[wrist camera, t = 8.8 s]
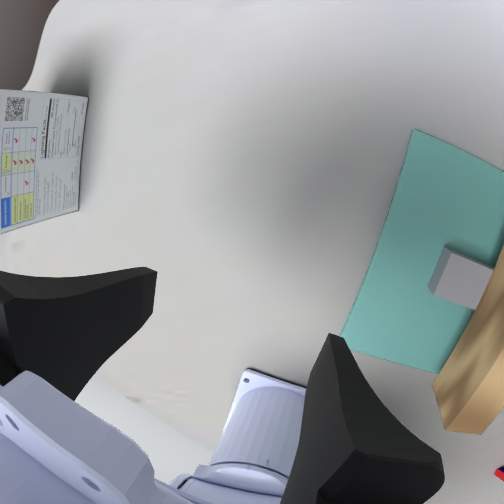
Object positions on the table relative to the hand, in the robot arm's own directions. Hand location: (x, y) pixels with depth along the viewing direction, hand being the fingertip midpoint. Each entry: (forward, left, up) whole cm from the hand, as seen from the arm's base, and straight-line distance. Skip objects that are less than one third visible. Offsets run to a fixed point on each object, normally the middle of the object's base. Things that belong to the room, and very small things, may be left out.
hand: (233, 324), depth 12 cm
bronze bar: (+3, -16, -8) cm, 18 cm away
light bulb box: (+3, +22, -11) cm, 25 cm away
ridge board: (+3, -16, -10) cm, 19 cm away
